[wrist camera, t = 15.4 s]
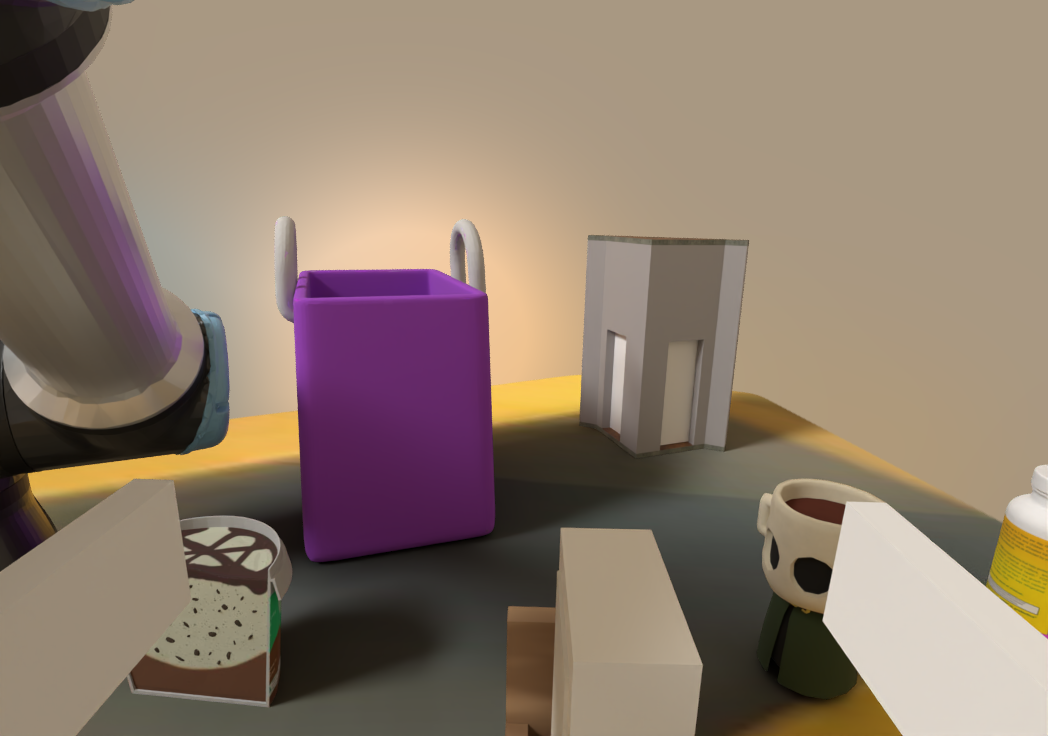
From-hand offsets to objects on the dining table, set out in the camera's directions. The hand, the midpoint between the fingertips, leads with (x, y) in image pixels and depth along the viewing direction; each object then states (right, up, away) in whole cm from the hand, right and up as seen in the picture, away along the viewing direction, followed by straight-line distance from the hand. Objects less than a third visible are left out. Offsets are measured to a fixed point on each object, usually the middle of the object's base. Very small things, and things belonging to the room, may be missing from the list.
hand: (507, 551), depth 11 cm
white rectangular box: (+4, -20, +14) cm, 25 cm away
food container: (-20, -17, +29) cm, 39 cm away
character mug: (+20, -18, +29) cm, 39 cm away
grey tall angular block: (+17, -7, +69) cm, 71 cm away
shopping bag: (-15, -11, +54) cm, 57 cm away
